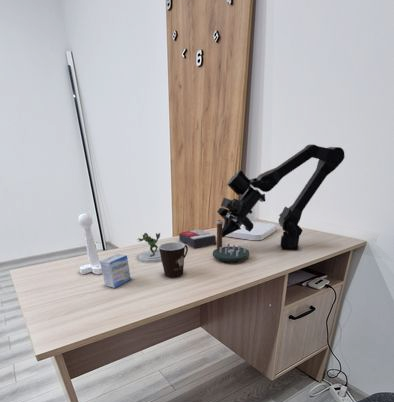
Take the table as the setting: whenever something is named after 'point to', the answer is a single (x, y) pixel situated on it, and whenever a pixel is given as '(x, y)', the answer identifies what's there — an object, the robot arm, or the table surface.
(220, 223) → the pegged disc stand
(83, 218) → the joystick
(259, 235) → the computer
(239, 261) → the turntable base
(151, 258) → the monster figurine
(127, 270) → the medicine box
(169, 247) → the coffee mug
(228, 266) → the table surface
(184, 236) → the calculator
